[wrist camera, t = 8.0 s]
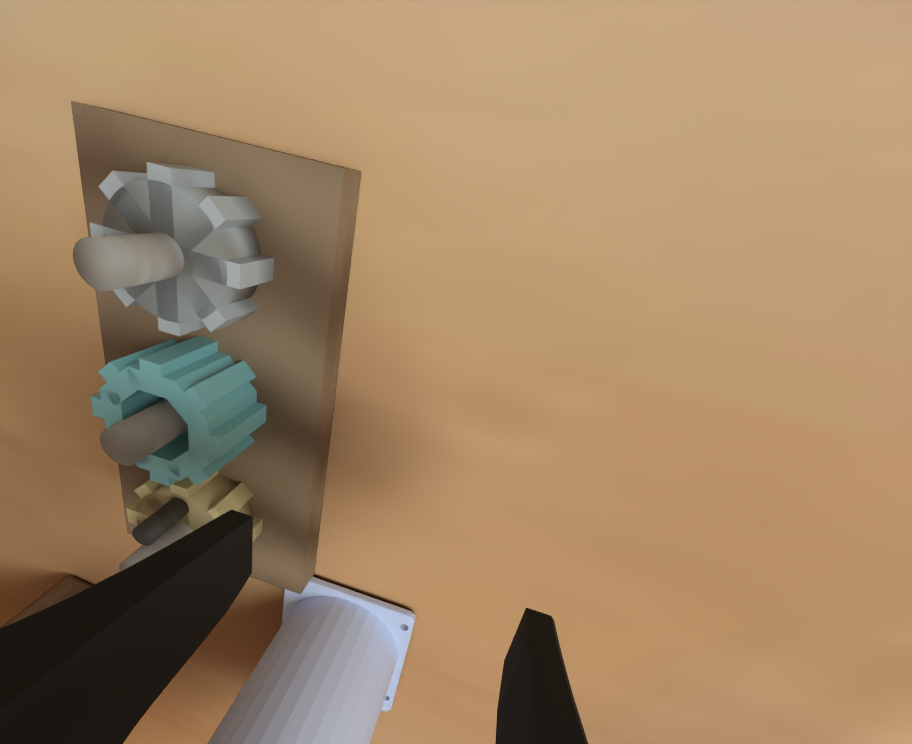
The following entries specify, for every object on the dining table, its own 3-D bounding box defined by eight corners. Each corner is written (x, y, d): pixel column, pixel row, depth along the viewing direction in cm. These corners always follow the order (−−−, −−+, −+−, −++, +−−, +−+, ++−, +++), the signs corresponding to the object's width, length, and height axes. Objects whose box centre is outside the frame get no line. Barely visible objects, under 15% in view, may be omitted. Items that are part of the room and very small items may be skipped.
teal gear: (264, 464, 21) (220, 503, 18) (158, 429, 21) (100, 463, 18) (268, 356, 18) (219, 383, 15) (149, 321, 19) (82, 340, 16)
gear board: (314, 573, 25) (248, 676, 19) (149, 515, 26) (43, 598, 20) (361, 171, 16) (265, 154, 11) (108, 109, 17) (-96, 64, 12)
